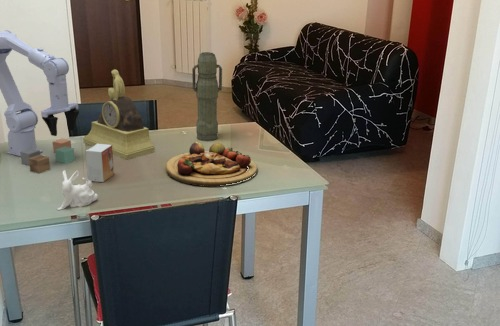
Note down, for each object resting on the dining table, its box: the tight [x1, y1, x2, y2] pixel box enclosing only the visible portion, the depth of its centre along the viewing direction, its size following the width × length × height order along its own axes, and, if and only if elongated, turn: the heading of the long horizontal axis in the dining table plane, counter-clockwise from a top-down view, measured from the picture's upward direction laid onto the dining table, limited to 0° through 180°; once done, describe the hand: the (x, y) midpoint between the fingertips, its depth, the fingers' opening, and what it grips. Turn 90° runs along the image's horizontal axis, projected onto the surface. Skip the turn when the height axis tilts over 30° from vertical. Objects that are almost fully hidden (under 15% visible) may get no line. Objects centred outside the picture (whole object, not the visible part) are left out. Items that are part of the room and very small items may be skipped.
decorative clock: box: [82, 69, 156, 161], centre depth 192 cm, size 28×13×30 cm, turn 49°
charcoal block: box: [20, 148, 41, 167], centre depth 178 cm, size 4×4×4 cm
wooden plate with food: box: [165, 141, 258, 187], centre depth 176 cm, size 32×32×8 cm
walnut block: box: [29, 154, 51, 174], centre depth 172 cm, size 4×4×4 cm
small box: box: [85, 144, 115, 183], centre depth 166 cm, size 8×6×10 cm
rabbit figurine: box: [56, 170, 99, 211], centre depth 148 cm, size 12×8×10 cm, turn 116°
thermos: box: [191, 51, 223, 142], centre depth 206 cm, size 9×12×35 cm
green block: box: [54, 146, 76, 165], centre depth 181 cm, size 4×4×4 cm
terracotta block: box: [52, 138, 72, 154], centre depth 189 cm, size 4×4×4 cm
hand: (62, 132), depth 178 cm, fingers open, 7 cm apart
